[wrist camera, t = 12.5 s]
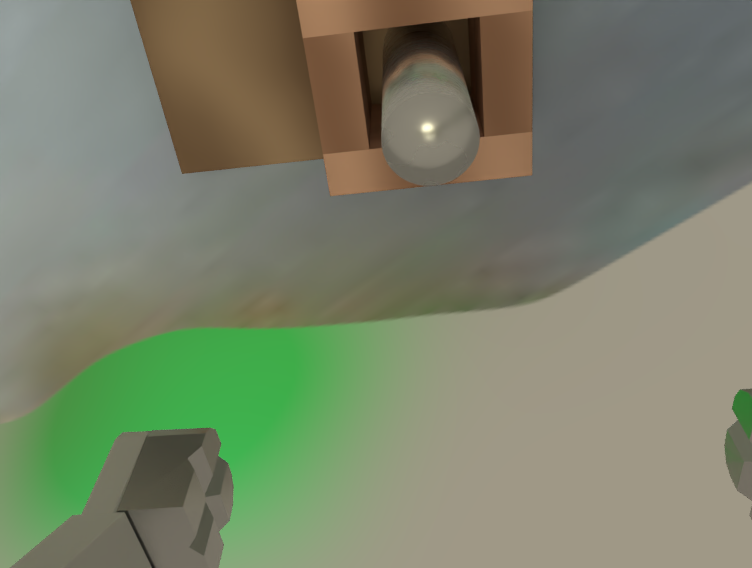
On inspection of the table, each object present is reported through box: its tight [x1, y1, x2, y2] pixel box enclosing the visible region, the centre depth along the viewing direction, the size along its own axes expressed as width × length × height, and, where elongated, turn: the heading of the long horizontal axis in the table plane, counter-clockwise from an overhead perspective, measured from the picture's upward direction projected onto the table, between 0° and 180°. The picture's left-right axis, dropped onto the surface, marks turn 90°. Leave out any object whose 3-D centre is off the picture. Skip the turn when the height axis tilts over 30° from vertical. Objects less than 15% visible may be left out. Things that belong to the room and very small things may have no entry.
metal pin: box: [381, 21, 480, 186], centre depth 26 cm, size 3×3×10 cm
